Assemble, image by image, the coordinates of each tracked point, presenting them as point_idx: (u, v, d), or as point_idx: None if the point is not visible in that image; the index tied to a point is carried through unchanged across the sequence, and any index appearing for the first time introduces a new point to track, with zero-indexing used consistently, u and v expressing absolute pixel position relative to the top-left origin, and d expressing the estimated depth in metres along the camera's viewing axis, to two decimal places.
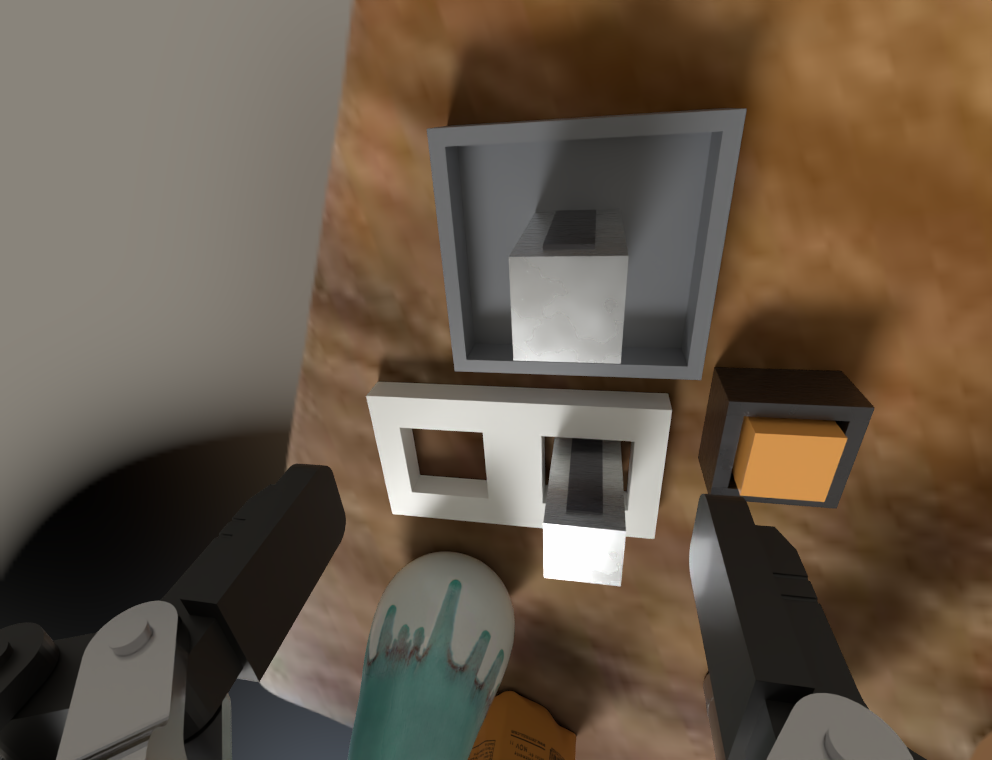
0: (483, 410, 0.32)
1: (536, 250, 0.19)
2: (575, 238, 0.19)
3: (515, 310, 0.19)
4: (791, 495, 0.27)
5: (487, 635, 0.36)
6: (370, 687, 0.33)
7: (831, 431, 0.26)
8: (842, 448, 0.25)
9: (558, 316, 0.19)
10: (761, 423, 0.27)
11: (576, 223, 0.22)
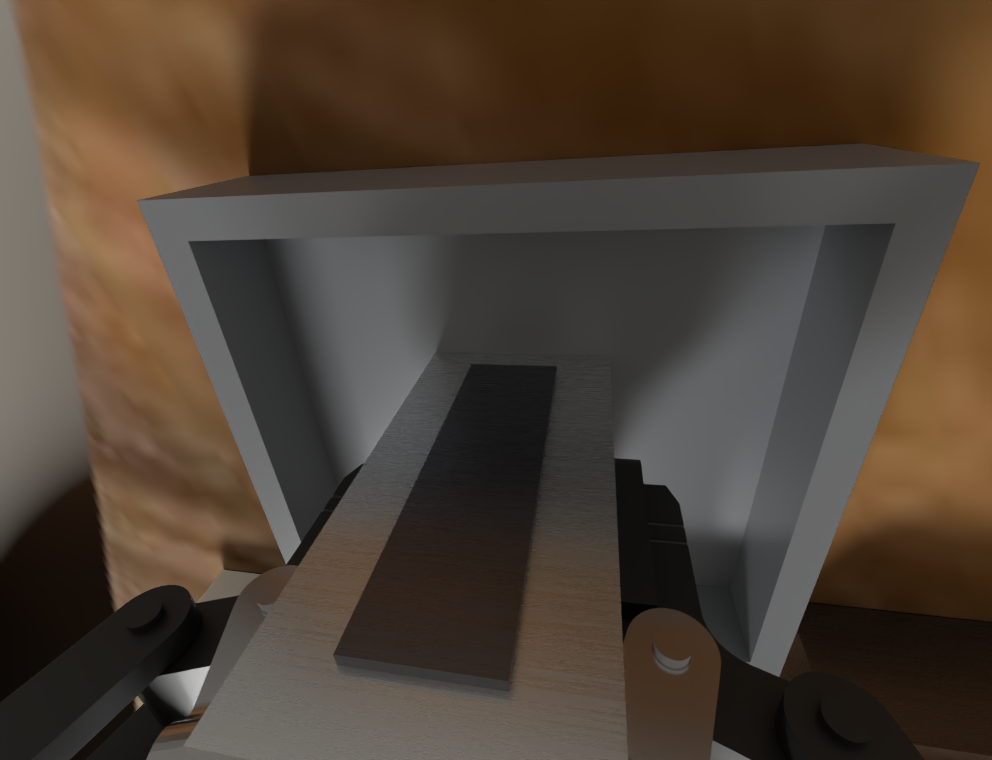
0: None
1: (313, 671, 0.05)
2: (457, 597, 0.06)
3: None
4: None
5: None
6: None
7: None
8: None
9: None
10: None
11: (493, 454, 0.08)
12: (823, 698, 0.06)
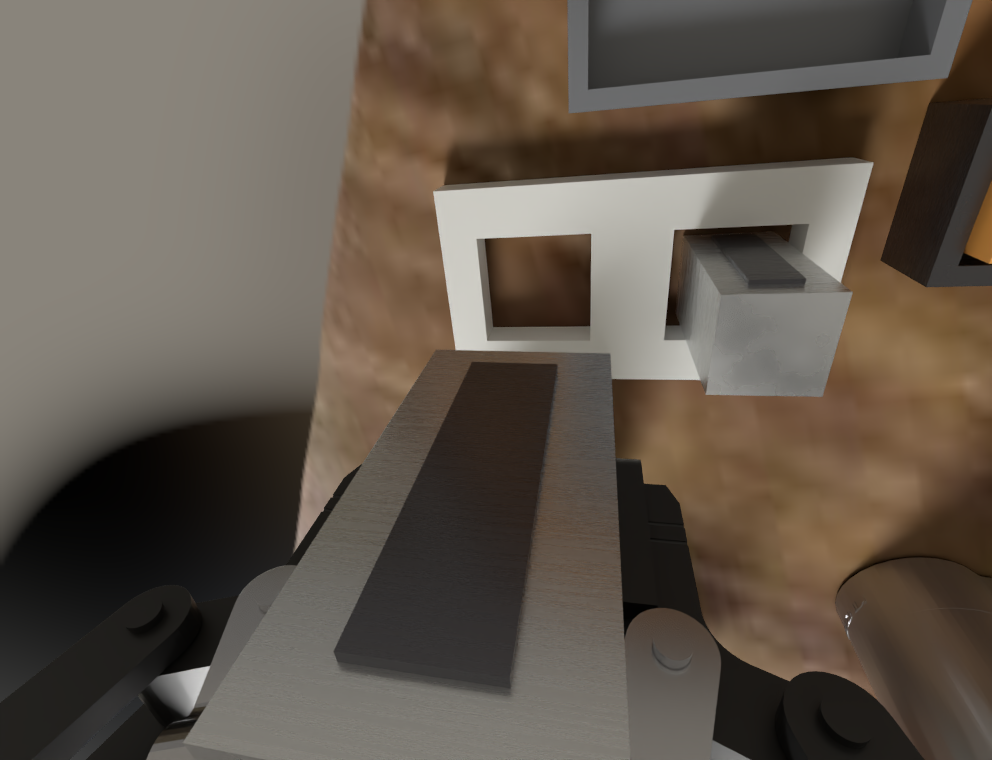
0: (595, 196, 0.24)
1: (313, 668, 0.05)
2: (458, 594, 0.06)
3: None
4: None
5: None
6: None
7: None
8: None
9: None
10: None
11: (494, 451, 0.08)
12: (823, 698, 0.06)
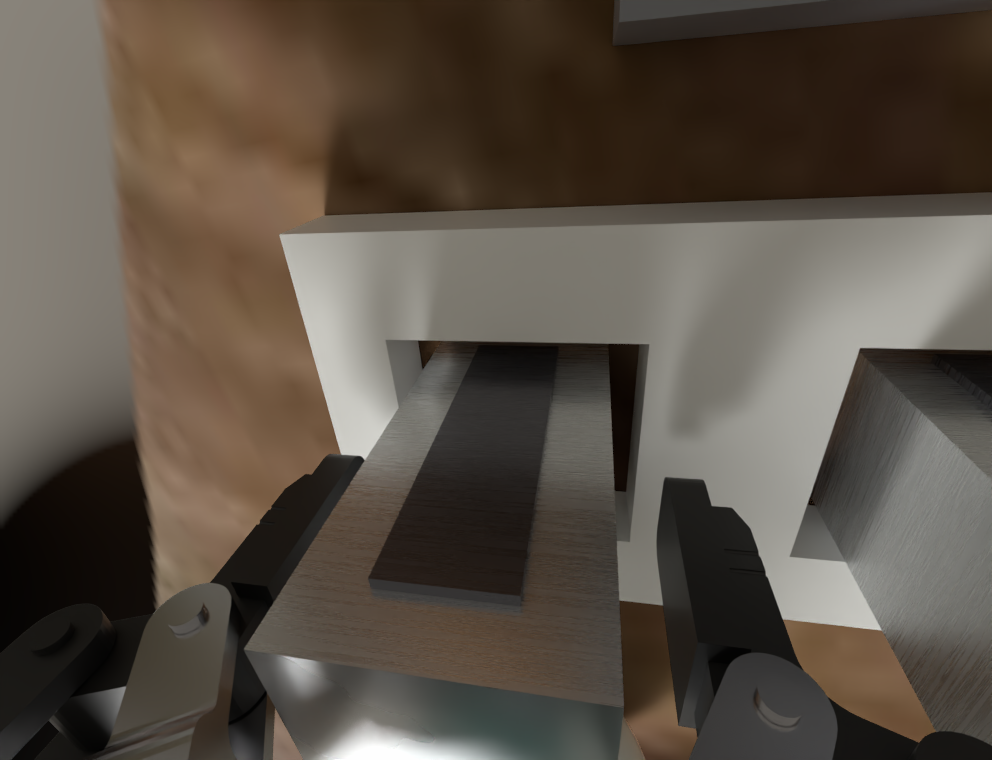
0: (666, 260, 0.09)
1: (350, 593, 0.06)
2: (474, 534, 0.07)
3: (304, 741, 0.07)
4: None
5: None
6: None
7: None
8: None
9: None
10: None
11: (502, 420, 0.09)
12: None
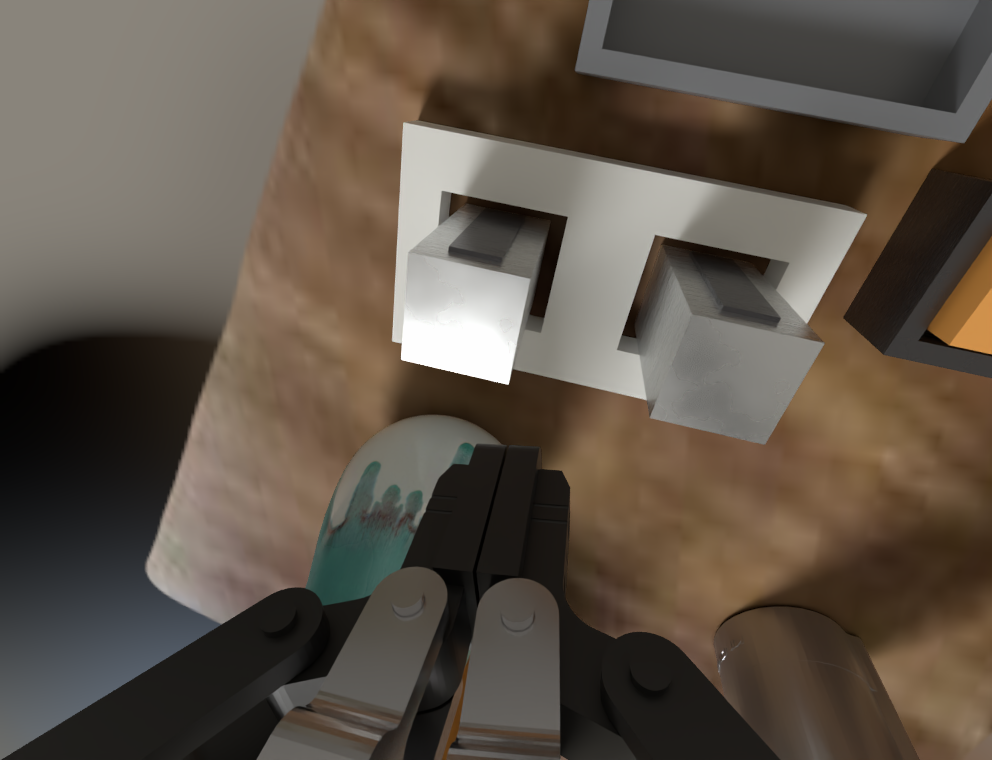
0: (581, 175, 0.21)
1: (441, 250, 0.18)
2: (486, 246, 0.18)
3: (409, 309, 0.18)
4: None
5: None
6: (332, 561, 0.22)
7: None
8: None
9: (451, 325, 0.18)
10: None
11: (497, 228, 0.21)
12: (638, 654, 0.06)
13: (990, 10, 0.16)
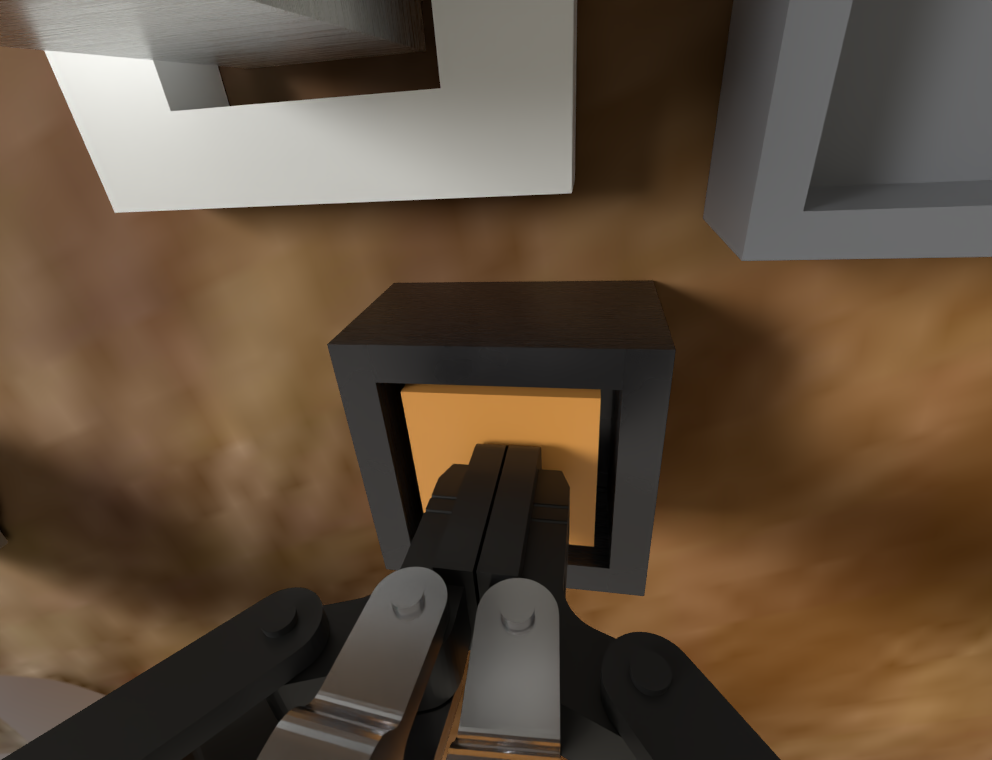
0: None
1: None
2: None
3: None
4: (428, 482, 0.12)
5: None
6: None
7: None
8: None
9: None
10: None
11: None
12: (638, 654, 0.06)
13: (965, 190, 0.08)
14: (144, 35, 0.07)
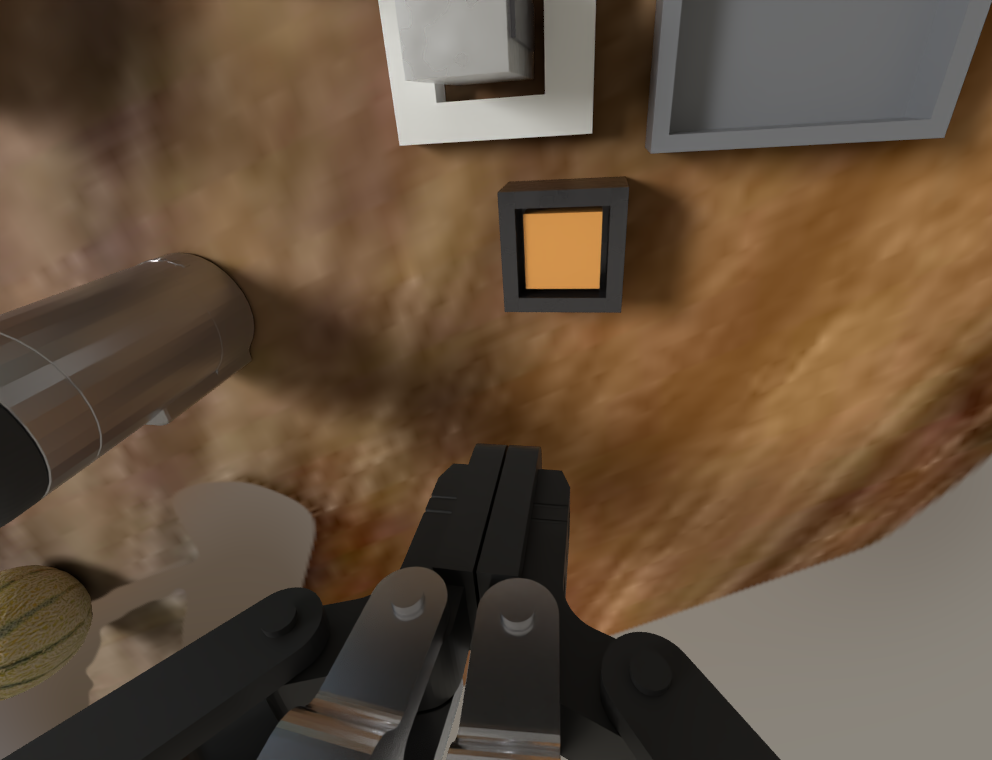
0: None
1: None
2: None
3: None
4: (529, 260, 0.29)
5: None
6: None
7: None
8: (588, 287, 0.29)
9: None
10: None
11: None
12: (638, 654, 0.06)
13: (727, 129, 0.25)
14: (470, 79, 0.23)
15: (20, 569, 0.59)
